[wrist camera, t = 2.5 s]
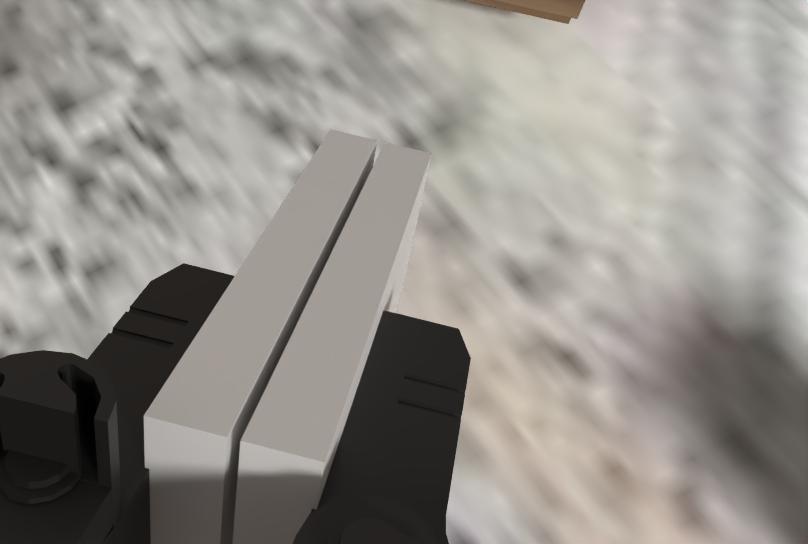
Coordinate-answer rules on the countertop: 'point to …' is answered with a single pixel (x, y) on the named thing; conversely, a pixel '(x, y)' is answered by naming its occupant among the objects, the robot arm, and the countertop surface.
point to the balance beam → (540, 8)
